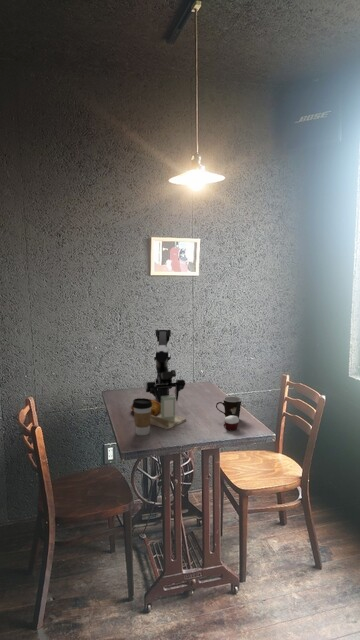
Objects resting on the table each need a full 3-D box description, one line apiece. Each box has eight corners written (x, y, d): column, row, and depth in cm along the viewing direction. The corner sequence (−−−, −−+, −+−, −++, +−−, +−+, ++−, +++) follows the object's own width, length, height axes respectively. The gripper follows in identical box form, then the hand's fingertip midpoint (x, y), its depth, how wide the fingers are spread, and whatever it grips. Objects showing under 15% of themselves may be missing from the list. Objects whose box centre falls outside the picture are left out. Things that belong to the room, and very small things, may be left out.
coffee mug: (242, 417, 206) (243, 397, 205) (239, 423, 198) (239, 402, 197) (219, 414, 210) (219, 395, 208) (215, 420, 202) (215, 400, 200)
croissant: (141, 423, 204) (141, 408, 202) (127, 410, 216) (127, 396, 214) (166, 417, 212) (167, 402, 210) (151, 404, 224) (152, 390, 222)
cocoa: (224, 433, 187) (224, 407, 185) (220, 427, 193) (219, 402, 191) (244, 430, 189) (244, 405, 187) (240, 424, 195) (239, 400, 193)
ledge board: (165, 414, 210) (165, 407, 209) (186, 420, 201) (186, 412, 201) (146, 422, 199) (146, 414, 198) (167, 429, 191) (167, 420, 190)
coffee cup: (133, 429, 190) (132, 397, 188) (152, 429, 191) (151, 396, 189) (132, 436, 182) (132, 403, 180) (152, 436, 183) (152, 402, 181)
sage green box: (160, 418, 202) (160, 396, 200) (173, 417, 203) (172, 395, 202) (162, 421, 198) (162, 398, 197) (175, 419, 200) (174, 397, 198)
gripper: (146, 365, 199) (151, 394, 190) (184, 363, 204) (190, 391, 195) (143, 377, 207) (148, 406, 198) (180, 375, 212) (186, 402, 203)
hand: (168, 401), depth 198 cm, fingers open, 8 cm apart
